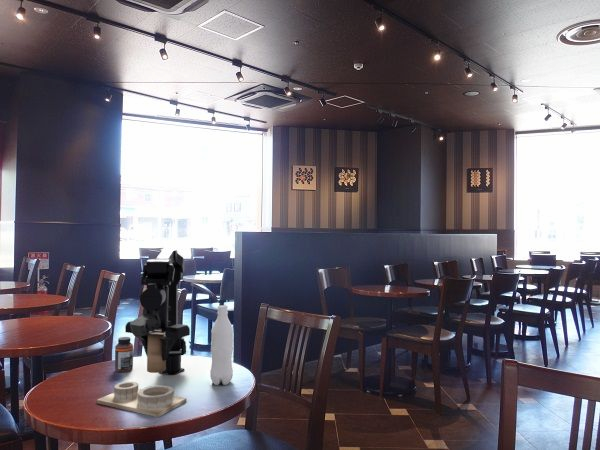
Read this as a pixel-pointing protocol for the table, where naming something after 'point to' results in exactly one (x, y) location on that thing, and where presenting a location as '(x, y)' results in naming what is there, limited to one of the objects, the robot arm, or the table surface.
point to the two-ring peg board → (142, 399)
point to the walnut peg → (155, 354)
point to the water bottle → (222, 348)
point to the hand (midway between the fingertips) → (156, 359)
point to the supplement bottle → (124, 355)
